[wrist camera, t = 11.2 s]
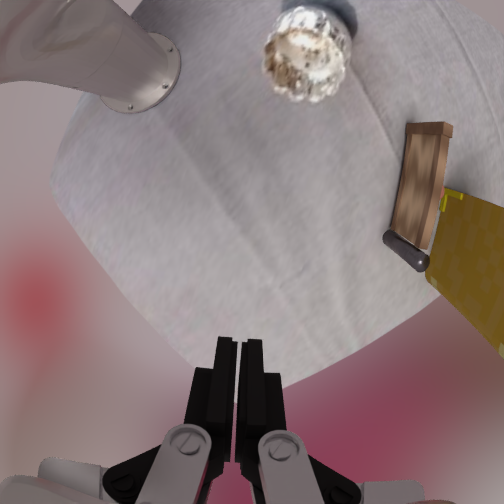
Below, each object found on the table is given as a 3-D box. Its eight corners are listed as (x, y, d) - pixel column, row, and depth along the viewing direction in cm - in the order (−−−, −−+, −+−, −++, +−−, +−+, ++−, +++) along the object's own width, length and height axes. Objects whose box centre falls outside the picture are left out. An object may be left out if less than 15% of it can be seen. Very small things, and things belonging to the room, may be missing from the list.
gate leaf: (406, 123, 32) (443, 121, 24) (415, 126, 33) (453, 125, 24) (388, 227, 38) (419, 249, 30) (397, 229, 38) (429, 250, 30)
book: (443, 187, 36) (566, 237, 13) (469, 194, 36) (580, 244, 13) (419, 283, 42) (505, 376, 19) (445, 284, 42) (528, 367, 19)
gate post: (379, 239, 39) (411, 266, 30) (389, 227, 39) (423, 250, 29) (389, 248, 40) (421, 275, 30) (398, 236, 39) (432, 261, 30)
